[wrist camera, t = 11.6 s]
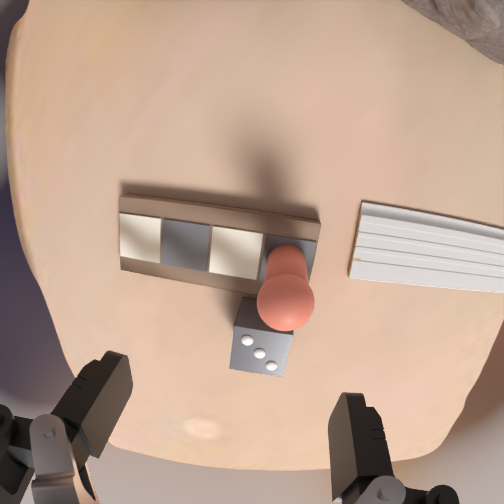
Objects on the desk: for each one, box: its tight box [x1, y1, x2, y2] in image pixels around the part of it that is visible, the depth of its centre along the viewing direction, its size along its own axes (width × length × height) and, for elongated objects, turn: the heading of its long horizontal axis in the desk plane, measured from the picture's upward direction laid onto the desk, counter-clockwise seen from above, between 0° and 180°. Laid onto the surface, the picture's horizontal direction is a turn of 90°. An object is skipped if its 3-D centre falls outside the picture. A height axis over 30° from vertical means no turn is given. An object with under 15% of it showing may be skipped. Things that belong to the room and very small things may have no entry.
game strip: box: [119, 194, 321, 295], centre depth 33 cm, size 9×22×2 cm, turn 83°
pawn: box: [257, 244, 314, 331], centre depth 27 cm, size 5×5×11 cm
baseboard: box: [348, 202, 504, 293], centre depth 30 cm, size 30×3×10 cm
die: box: [229, 297, 293, 377], centre depth 34 cm, size 6×6×6 cm
